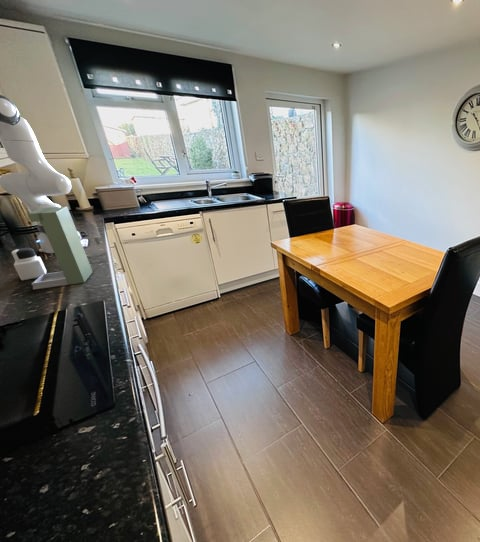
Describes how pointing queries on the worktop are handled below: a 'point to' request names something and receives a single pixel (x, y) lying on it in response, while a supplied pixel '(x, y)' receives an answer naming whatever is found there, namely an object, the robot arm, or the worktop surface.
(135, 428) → the worktop surface
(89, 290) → the worktop surface
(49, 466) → the worktop surface
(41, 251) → the robot arm
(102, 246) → the worktop surface
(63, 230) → the sage green upright pillar
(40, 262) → the medicine bottle
